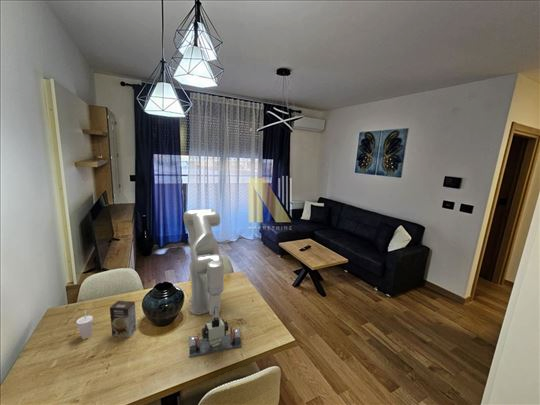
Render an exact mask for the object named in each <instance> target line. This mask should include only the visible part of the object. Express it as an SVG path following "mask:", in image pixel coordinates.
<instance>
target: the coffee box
mask: <svg viewBox="0 0 540 405" xmlns="http://www.w3.org/2000/svg"><path fill="white" fill-rule="evenodd" d="M109 314H110V325H111V327H110V328H111V337H112V336H120V337H119V338H127V337H130V336H131V337H132V336H133V334H134V333H135V332H136V331H137V320H136V318H137V317H136V301H129V300H117V301H116V302H115V303H113V304H112V305H111V306H110V307H109ZM135 330H136V331H135ZM134 331H135V332H134ZM131 337H130V338H131Z"/></svg>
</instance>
